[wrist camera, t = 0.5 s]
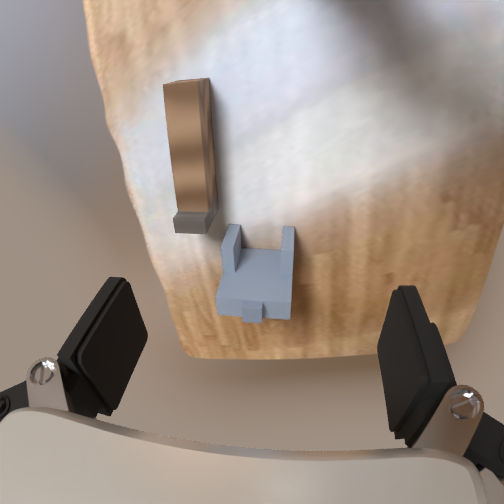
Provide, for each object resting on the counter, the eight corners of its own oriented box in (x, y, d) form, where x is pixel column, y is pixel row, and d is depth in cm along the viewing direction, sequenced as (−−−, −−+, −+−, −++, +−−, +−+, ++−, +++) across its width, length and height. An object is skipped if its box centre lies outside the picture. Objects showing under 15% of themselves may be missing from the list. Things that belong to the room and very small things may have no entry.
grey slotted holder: (229, 224, 46) (209, 277, 36) (294, 226, 45) (292, 282, 35) (232, 263, 50) (215, 321, 40) (292, 267, 49) (289, 326, 39)
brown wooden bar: (177, 80, 35) (155, 86, 30) (208, 77, 35) (191, 82, 29) (190, 207, 45) (175, 232, 40) (218, 208, 45) (206, 234, 39)
